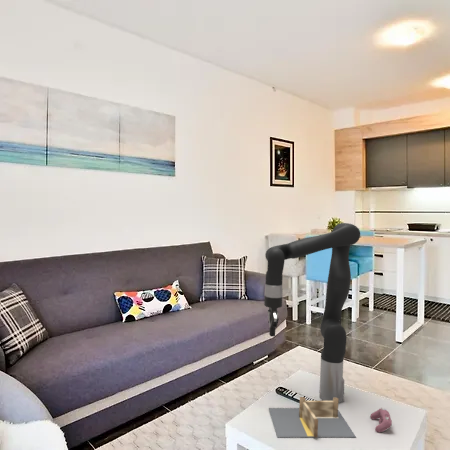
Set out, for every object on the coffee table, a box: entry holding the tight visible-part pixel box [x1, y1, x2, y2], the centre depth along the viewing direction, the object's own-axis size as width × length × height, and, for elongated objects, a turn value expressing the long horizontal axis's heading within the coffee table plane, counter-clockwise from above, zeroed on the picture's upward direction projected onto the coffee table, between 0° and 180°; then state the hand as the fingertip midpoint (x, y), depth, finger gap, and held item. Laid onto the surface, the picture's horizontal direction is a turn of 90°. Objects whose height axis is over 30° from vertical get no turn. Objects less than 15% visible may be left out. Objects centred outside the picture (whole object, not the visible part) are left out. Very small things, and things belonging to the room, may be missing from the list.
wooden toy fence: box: [298, 396, 339, 418], centre depth 139 cm, size 15×2×8 cm, turn 93°
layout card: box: [268, 407, 357, 439], centre depth 136 cm, size 28×18×1 cm, turn 93°
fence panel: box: [302, 402, 318, 439], centre depth 132 cm, size 12×1×6 cm, turn 9°
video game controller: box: [370, 407, 393, 433], centre depth 135 cm, size 10×5×7 cm, turn 169°
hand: (272, 335), depth 152 cm, fingers closed
